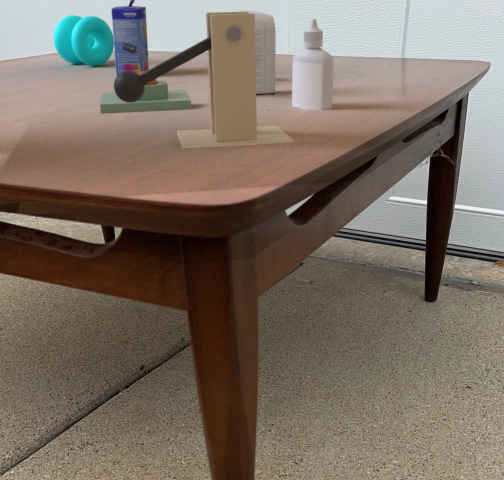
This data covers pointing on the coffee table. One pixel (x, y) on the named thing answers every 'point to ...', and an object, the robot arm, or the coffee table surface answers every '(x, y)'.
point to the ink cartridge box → (130, 38)
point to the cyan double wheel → (83, 40)
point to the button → (149, 82)
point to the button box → (148, 100)
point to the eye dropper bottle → (312, 73)
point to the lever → (154, 72)
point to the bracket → (232, 87)
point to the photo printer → (264, 52)
